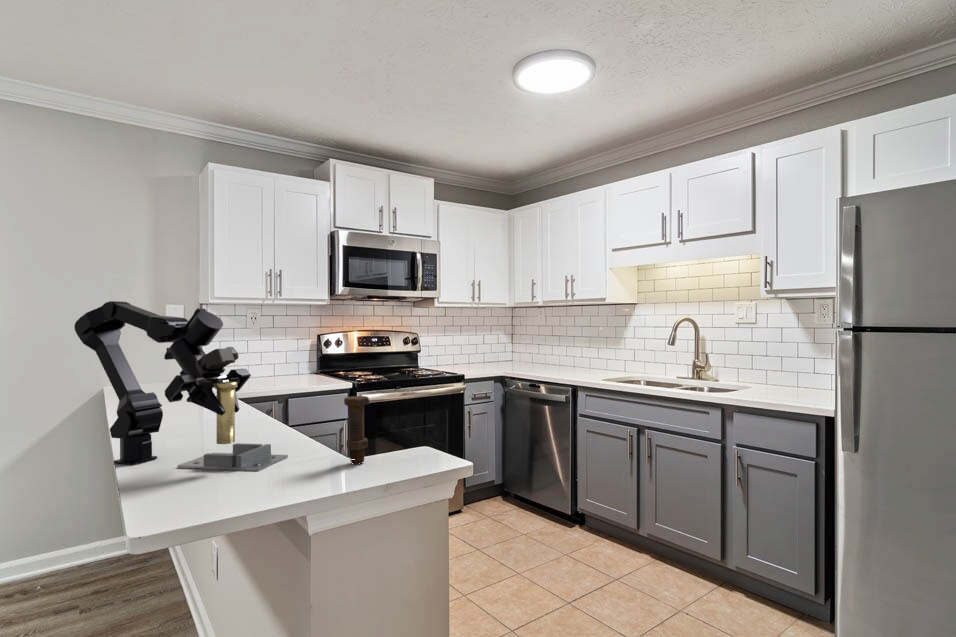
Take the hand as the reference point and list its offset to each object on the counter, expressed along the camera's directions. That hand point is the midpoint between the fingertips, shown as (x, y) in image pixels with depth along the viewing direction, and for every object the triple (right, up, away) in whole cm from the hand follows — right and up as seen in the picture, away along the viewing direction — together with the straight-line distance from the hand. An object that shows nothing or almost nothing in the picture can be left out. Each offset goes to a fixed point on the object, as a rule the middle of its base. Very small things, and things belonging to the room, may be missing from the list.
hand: (230, 412), depth 115 cm
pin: (-1, -7, 0) cm, 7 cm away
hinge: (-3, -13, +8) cm, 15 cm away
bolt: (+26, -13, +5) cm, 30 cm away
